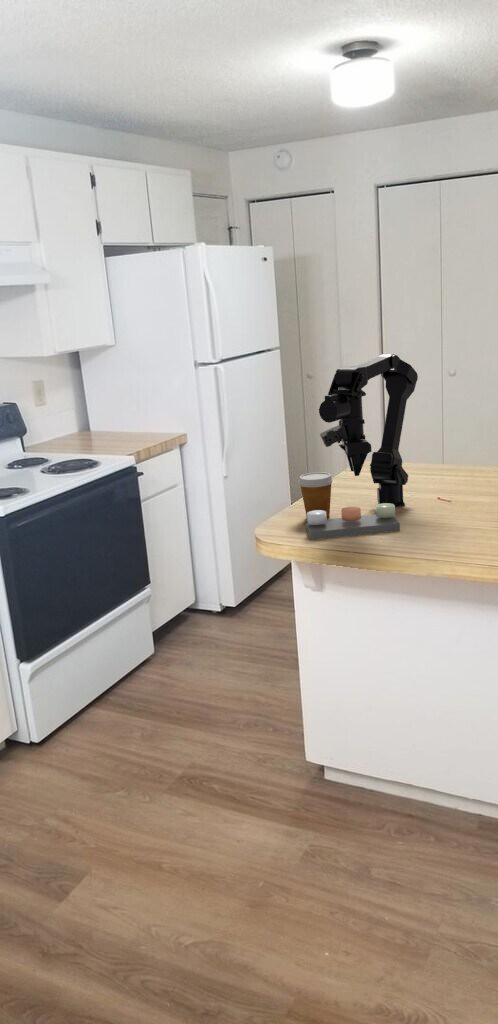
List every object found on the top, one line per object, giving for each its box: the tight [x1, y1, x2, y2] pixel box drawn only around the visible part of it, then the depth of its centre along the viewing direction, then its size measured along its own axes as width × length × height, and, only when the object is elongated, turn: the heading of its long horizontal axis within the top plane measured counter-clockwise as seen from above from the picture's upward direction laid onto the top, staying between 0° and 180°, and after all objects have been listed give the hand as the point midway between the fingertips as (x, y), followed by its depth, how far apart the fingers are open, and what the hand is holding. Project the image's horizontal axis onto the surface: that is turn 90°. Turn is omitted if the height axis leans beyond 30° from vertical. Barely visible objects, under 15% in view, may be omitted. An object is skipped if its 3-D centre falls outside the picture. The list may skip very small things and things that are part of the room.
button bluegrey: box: [306, 510, 327, 525], centre depth 215 cm, size 5×5×2 cm
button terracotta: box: [340, 506, 362, 521], centre depth 215 cm, size 5×5×2 cm
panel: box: [305, 513, 401, 541], centre depth 216 cm, size 23×10×2 cm, turn 93°
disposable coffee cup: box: [297, 471, 334, 519], centre depth 228 cm, size 10×10×12 cm
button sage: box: [374, 503, 396, 518], centre depth 215 cm, size 5×5×2 cm
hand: (354, 473), depth 221 cm, fingers open, 5 cm apart
